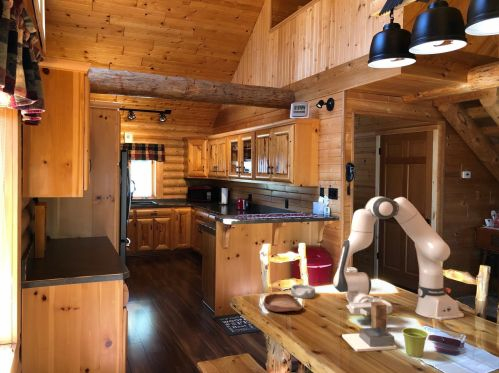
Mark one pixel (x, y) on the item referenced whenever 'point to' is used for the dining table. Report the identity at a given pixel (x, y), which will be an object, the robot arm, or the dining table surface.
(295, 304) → the basket
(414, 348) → the plant pot
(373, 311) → the walnut post
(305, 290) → the dish
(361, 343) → the base plate
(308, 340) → the dining table surface
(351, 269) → the syrup box
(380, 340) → the steel collar
